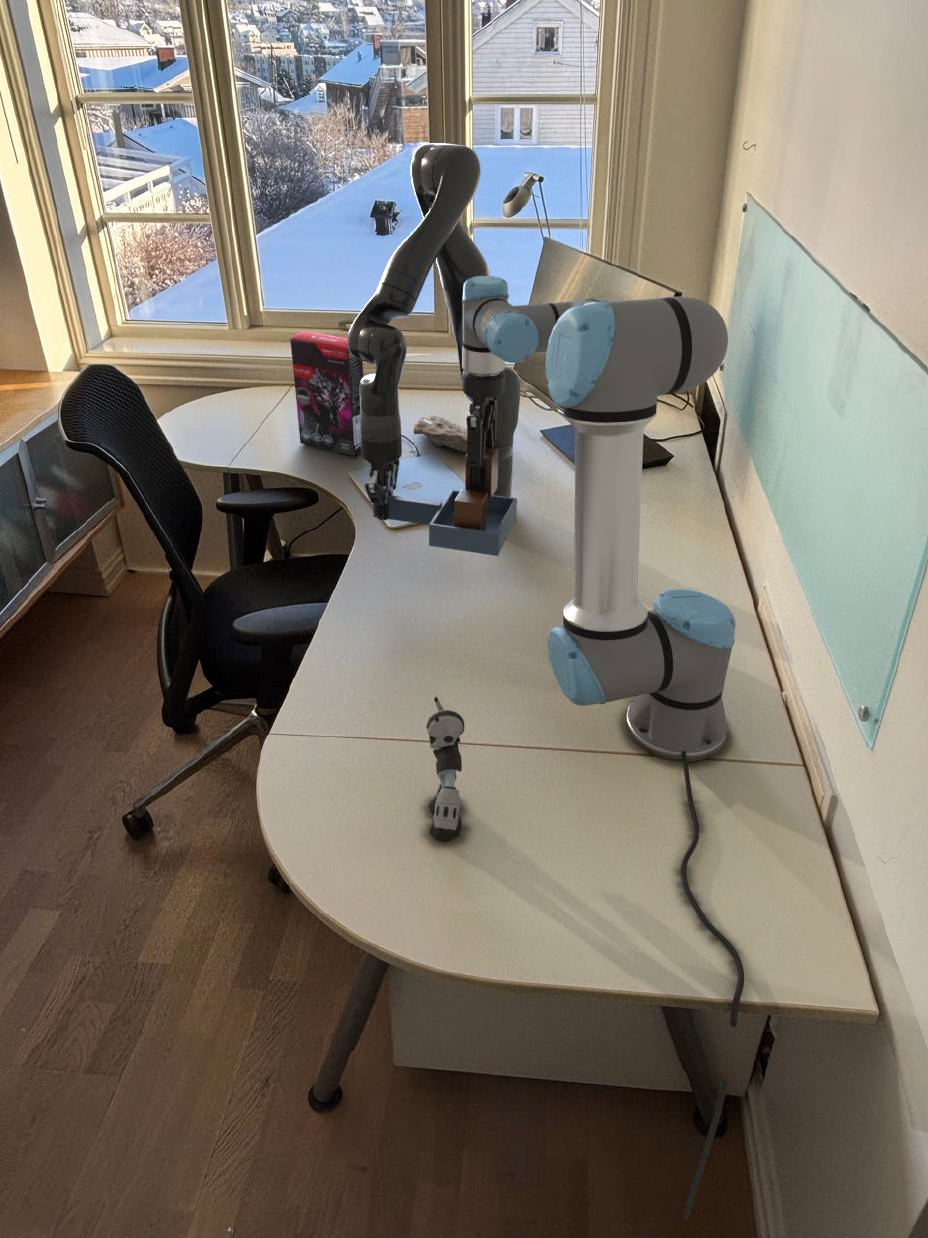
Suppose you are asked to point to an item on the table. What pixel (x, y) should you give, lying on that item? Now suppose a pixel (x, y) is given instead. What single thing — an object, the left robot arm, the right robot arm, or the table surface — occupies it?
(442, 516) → the tray
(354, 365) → the graphics card box
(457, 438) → the stone
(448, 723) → the robot
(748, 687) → the table surface
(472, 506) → the walnut block
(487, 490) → the walnut block
